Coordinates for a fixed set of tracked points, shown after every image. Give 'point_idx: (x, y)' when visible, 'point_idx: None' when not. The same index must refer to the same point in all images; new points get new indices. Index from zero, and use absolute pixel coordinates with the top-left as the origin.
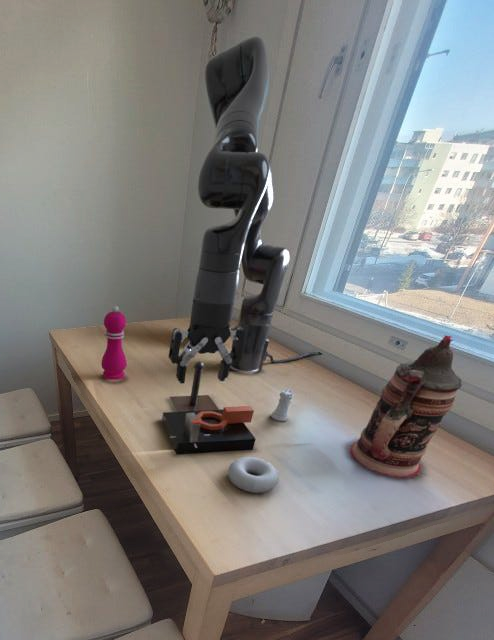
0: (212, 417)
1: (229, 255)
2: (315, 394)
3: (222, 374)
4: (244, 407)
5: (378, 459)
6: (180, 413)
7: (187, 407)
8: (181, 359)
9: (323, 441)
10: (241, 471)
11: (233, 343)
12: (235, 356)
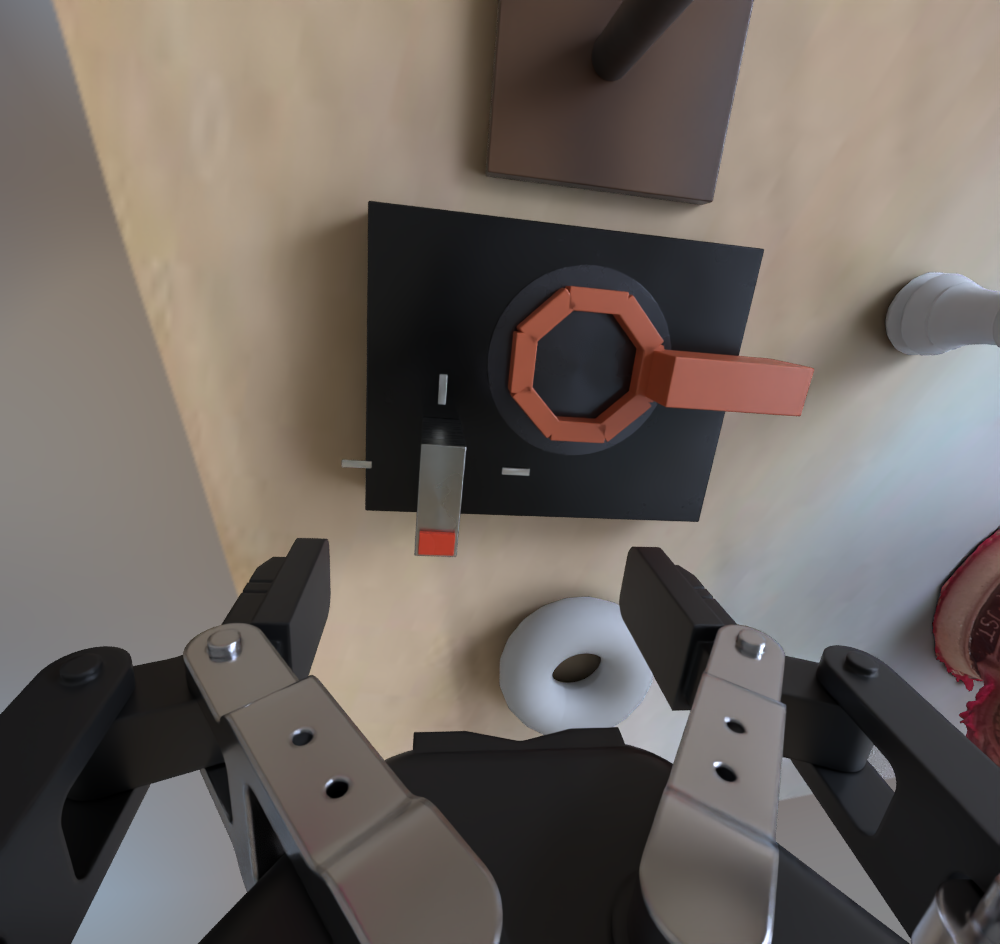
0: (613, 322)
1: None
2: None
3: (637, 646)
4: (775, 380)
5: (977, 668)
6: (467, 237)
7: (564, 90)
8: (203, 765)
9: (947, 487)
10: (529, 701)
11: (914, 798)
12: (801, 775)
